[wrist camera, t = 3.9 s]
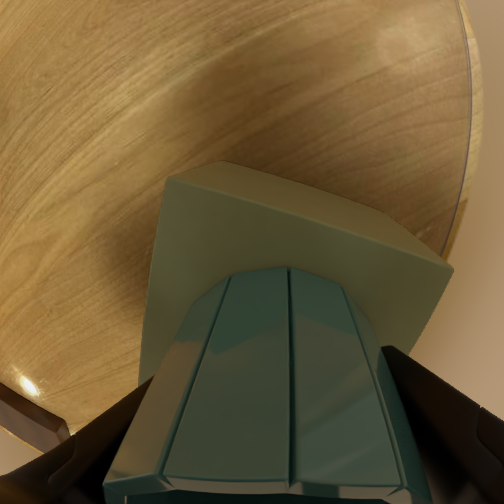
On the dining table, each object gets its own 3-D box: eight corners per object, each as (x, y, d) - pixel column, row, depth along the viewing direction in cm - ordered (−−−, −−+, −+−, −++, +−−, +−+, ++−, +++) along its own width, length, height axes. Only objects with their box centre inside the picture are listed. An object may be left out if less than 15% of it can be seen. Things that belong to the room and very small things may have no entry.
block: (64, 420, 23) (55, 433, 21) (79, 457, 26) (73, 468, 24) (-31, 360, 23) (-40, 368, 21) (-12, 402, 26) (-19, 410, 24)
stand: (325, 346, 17) (340, 447, 10) (185, 307, 16) (136, 398, 10) (383, 212, 14) (456, 269, 7) (220, 159, 14) (165, 176, 7)
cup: (366, 403, 9) (396, 550, 4) (210, 418, 10) (175, 555, 5) (368, 252, 7) (478, 435, 2) (159, 282, 8) (39, 444, 3)
